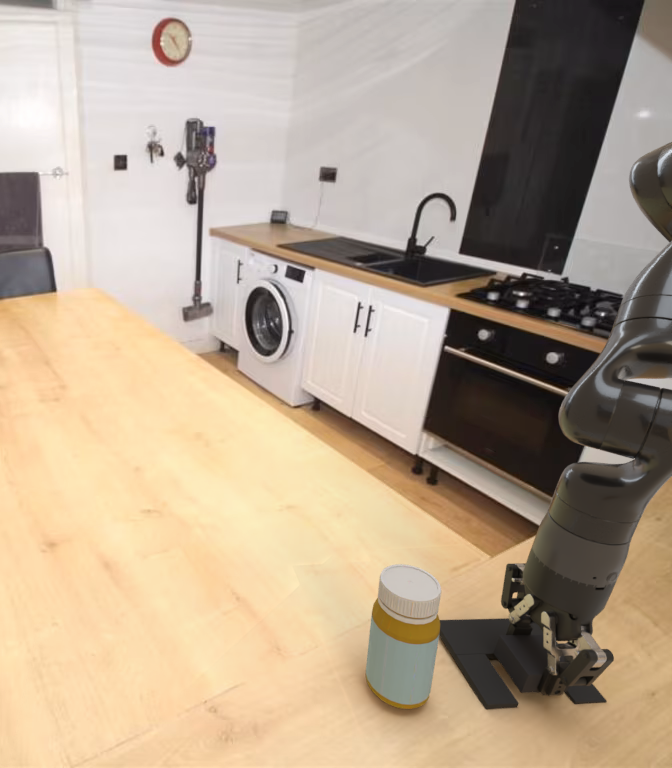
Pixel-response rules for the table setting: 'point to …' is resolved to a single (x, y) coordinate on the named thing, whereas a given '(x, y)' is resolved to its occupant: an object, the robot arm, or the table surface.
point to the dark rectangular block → (523, 659)
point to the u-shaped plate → (472, 653)
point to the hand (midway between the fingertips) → (530, 668)
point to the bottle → (404, 636)
